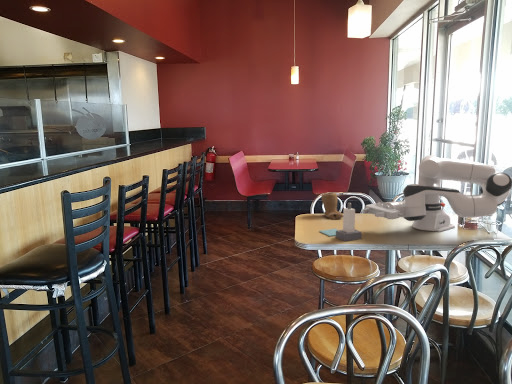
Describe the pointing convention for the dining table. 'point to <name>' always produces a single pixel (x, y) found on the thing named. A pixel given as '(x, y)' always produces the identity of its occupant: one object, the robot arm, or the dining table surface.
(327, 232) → the mat
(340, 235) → the grey socket block
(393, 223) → the dining table surface
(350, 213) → the plug
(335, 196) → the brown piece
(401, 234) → the dining table surface
